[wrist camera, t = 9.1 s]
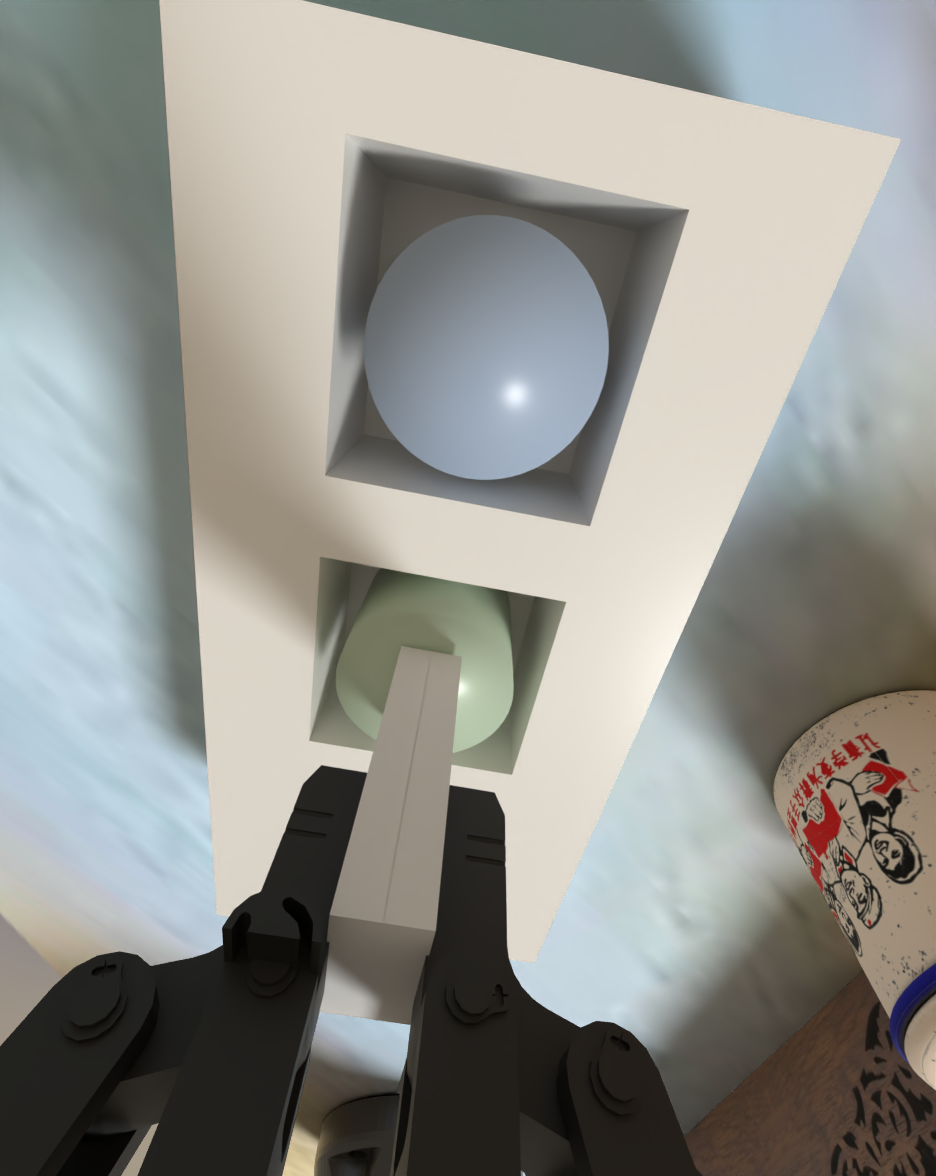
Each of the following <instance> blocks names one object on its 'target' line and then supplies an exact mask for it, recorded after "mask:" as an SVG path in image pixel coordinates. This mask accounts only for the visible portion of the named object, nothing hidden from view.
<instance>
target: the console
mask: <svg viewBox="0 0 936 1176" xmlns="http://www.w3.org/2000/svg"><path fill="white" fill-rule="evenodd" d="M159 3H160V19H161V35H162V51H163V67H164V83H165V98H166V114H167V130H168V146H169V162H170V178H171V194H172V210H173V226H174V242H175V257H176V273H177V289H178V305H179V321H180V337H181V353H182V369H183V385H184V401H185V417H186V432H187V448H188V464H189V480H190V496H191V512H192V528H193V544H194V560H195V576H196V591H197V607H198V623H199V639H200V655H201V671H202V687H203V703H204V719H205V735H206V751H207V766H208V782H209V798H210V814H211V830H212V846H213V862H214V878H215V894H216V910H217V915H221V916H227V917H229V916H230V915H231V913H232V912H233V910H234V909H235V908H236V907H237V906H239V905H240V904H241V903H242V902H244V901H245V900H246V899H247V898H248V897H250V896H251V895H254V894H256V893H259V892H261V890H262V887H263V885H264V882H265V880H266V877H267V874H268V872H269V869H270V867H271V864H272V862H273V859H274V857H275V854H276V851H277V849H278V846H279V844H280V841H281V839H282V836H283V834H284V833H285V830H286V826H287V823H288V821H289V818H290V816H291V813H292V812H293V809H294V806H295V803H296V800H297V798H298V795H299V793H300V790H301V788H302V785H303V783H304V782H305V781H306V780H307V779H308V778H309V777H310V776H311V775H312V774H313V773H314V772H315V771H316V770H317V769H318V768H319V767H320V766H321V765H324V766H330V767H336V768H342V769H348V770H354V771H360V772H366V773H368V769H369V765H370V762H371V758H372V754H373V750H374V747H375V743H376V740H374V739H373V738H371V737H370V736H368V735H367V734H365V733H364V732H363V731H362V730H361V729H360V728H358V727H357V726H356V725H355V724H354V722H353V721H352V720H351V719H350V718H349V716H348V715H347V713H346V712H345V710H344V709H343V707H342V705H341V703H340V700H339V697H338V694H337V689H336V669H337V664H338V661H339V658H340V655H341V653H342V651H343V648H344V646H345V644H346V641H347V639H348V637H349V634H350V632H351V630H352V627H353V625H354V623H355V620H356V618H357V616H358V613H359V611H360V609H361V606H362V604H363V602H364V599H365V597H366V595H367V592H368V590H369V587H370V585H371V583H372V581H373V579H374V577H375V575H376V574H377V572H378V571H379V570H380V568H385V569H390V570H396V571H401V572H407V573H412V574H417V575H423V576H428V577H434V578H439V579H445V580H450V581H455V582H461V583H466V584H472V585H477V586H483V587H488V588H493V589H499V590H504V591H507V593H508V597H509V602H510V616H511V639H512V661H513V684H514V690H513V700H512V705H511V707H510V710H509V713H508V715H507V716H506V718H505V720H504V721H503V723H502V724H501V725H500V727H499V728H498V729H497V730H496V731H495V732H494V733H493V734H492V735H491V736H489V737H488V738H486V739H485V740H484V741H482V742H480V743H478V744H477V745H475V746H472V747H470V748H467V749H465V750H462V751H458V752H454V753H453V754H452V765H451V775H450V785H453V786H459V787H465V788H471V789H477V790H483V791H489V792H495V794H496V797H497V799H498V801H499V803H500V805H501V808H502V810H503V812H504V814H505V846H506V863H505V867H506V902H507V948H508V955H509V959H511V960H517V961H524V962H531V963H535V961H536V959H537V956H538V954H539V952H540V950H541V947H542V945H543V943H544V941H545V938H546V936H547V934H548V932H549V929H550V927H551V925H552V923H553V920H554V918H555V916H556V914H557V911H558V909H559V907H560V905H561V902H562V900H563V898H564V896H565V894H566V891H567V889H568V887H569V885H570V882H571V880H572V878H573V876H574V873H575V871H576V869H577V867H578V864H579V862H580V860H581V858H582V855H583V853H584V851H585V849H586V846H587V844H588V842H589V840H590V837H591V835H592V833H593V831H594V828H595V826H596V824H597V822H598V819H599V817H600V815H601V813H602V810H603V808H604V806H605V804H606V801H607V799H608V797H609V795H610V792H611V790H612V788H613V786H614V783H615V781H616V779H617V777H618V775H619V772H620V770H621V768H622V766H623V763H624V761H625V759H626V757H627V754H628V752H629V750H630V748H631V745H632V743H633V741H634V739H635V736H636V734H637V732H638V730H639V727H640V725H641V723H642V721H643V718H644V716H645V714H646V712H647V709H648V707H649V705H650V703H651V700H652V698H653V696H654V694H655V691H656V689H657V687H658V685H659V682H660V680H661V678H662V676H663V673H664V671H665V669H666V667H667V664H668V662H669V660H670V658H671V655H672V653H673V651H674V649H675V647H676V644H677V642H678V640H679V638H680V635H681V633H682V631H683V629H684V626H685V624H686V622H687V620H688V617H689V615H690V613H691V611H692V608H693V606H694V604H695V602H696V599H697V597H698V595H699V593H700V590H701V588H702V586H703V584H704V581H705V579H706V577H707V575H708V572H709V570H710V568H711V566H712V563H713V561H714V559H715V557H716V554H717V552H718V550H719V548H720V545H721V543H722V541H723V539H724V536H725V534H726V532H727V530H728V528H729V525H730V523H731V521H732V519H733V516H734V514H735V512H736V510H737V507H738V505H739V503H740V501H741V498H742V496H743V494H744V492H745V489H746V487H747V485H748V483H749V480H750V478H751V476H752V474H753V471H754V469H755V467H756V465H757V462H758V460H759V458H760V456H761V453H762V451H763V449H764V447H765V444H766V442H767V440H768V438H769V435H770V433H771V431H772V429H773V426H774V424H775V422H776V420H777V417H778V415H779V413H780V411H781V409H782V406H783V404H784V402H785V400H786V397H787V395H788V393H789V391H790V388H791V386H792V384H793V382H794V379H795V377H796V375H797V373H798V370H799V368H800V366H801V364H802V361H803V359H804V357H805V355H806V352H807V350H808V348H809V346H810V343H811V341H812V339H813V337H814V334H815V332H816V330H817V328H818V325H819V323H820V321H821V319H822V316H823V314H824V312H825V310H826V307H827V305H828V303H829V301H830V298H831V296H832V294H833V292H834V289H835V287H836V285H837V283H838V281H839V278H840V276H841V274H842V272H843V269H844V267H845V265H846V263H847V260H848V258H849V256H850V254H851V251H852V249H853V247H854V245H855V242H856V240H857V238H858V236H859V233H860V231H861V229H862V227H863V224H864V222H865V220H866V218H867V215H868V213H869V211H870V209H871V206H872V204H873V202H874V200H875V197H876V195H877V193H878V191H879V188H880V186H881V184H882V182H883V179H884V177H885V175H886V173H887V170H888V168H889V166H890V164H891V162H892V159H893V157H894V155H895V153H896V150H897V148H898V146H899V144H900V141H901V139H898V138H893V137H889V136H885V135H880V134H876V133H872V132H867V131H863V130H859V129H855V128H850V127H846V126H842V125H837V124H833V123H829V122H824V121H820V120H816V119H811V118H807V117H803V116H799V115H794V114H790V113H786V112H781V111H777V110H773V109H768V108H764V107H760V106H756V105H751V104H747V103H743V102H738V101H734V100H730V99H725V98H721V97H717V96H712V95H708V94H704V93H700V92H695V91H691V90H687V89H682V88H678V87H674V86H669V85H665V84H661V83H656V82H652V81H648V80H644V79H639V78H635V77H631V76H626V75H622V74H618V73H613V72H609V71H605V70H600V69H596V68H592V67H588V66H583V65H579V64H575V63H570V62H566V61H562V60H557V59H553V58H549V57H544V56H540V55H536V54H532V53H527V52H523V51H519V50H514V49H510V48H506V47H501V46H497V45H493V44H488V43H484V42H480V41H476V40H471V39H467V38H463V37H458V36H454V35H450V34H445V33H441V32H437V31H432V30H428V29H424V28H420V27H415V26H411V25H407V24H402V23H398V22H394V21H389V20H385V19H381V18H376V17H372V16H368V15H364V14H359V13H355V12H351V11H346V10H342V9H338V8H333V7H329V6H325V5H321V4H316V3H312V2H308V1H303V0H159ZM475 215H499V216H506V217H513V218H516V219H519V220H523V221H526V222H529V223H531V224H533V225H535V226H537V227H540V228H542V229H544V230H546V231H547V232H548V233H550V234H551V235H553V236H554V237H556V238H557V239H559V240H560V241H561V242H562V243H563V244H564V245H565V246H567V247H568V248H569V249H570V250H571V251H572V252H573V253H574V254H575V256H576V257H577V258H578V259H579V260H580V262H581V263H582V264H583V265H584V267H585V268H586V270H587V272H588V273H589V275H590V277H591V278H592V280H593V282H594V284H595V286H596V289H597V291H598V293H599V295H600V298H601V301H602V304H603V308H604V312H605V315H606V321H607V328H608V338H609V354H608V364H607V371H606V376H605V380H604V385H603V388H602V391H601V393H600V396H599V399H598V402H597V404H596V406H595V408H594V410H593V412H592V414H591V416H590V417H589V419H588V421H587V422H586V424H585V425H584V427H583V428H582V430H581V431H580V432H579V433H578V434H577V436H576V437H575V438H574V439H573V440H572V442H571V443H570V444H568V445H567V446H566V447H565V448H564V449H563V450H562V451H561V452H560V453H559V454H557V455H556V456H554V457H553V458H552V459H550V460H549V461H547V462H546V463H544V464H542V465H540V466H538V467H537V468H535V469H532V470H530V471H527V472H525V473H522V474H519V475H516V476H512V477H508V478H502V479H494V480H476V479H468V478H462V477H458V476H454V475H450V474H448V473H445V472H443V471H440V470H438V469H435V468H434V467H432V466H430V465H428V464H426V463H425V462H423V461H421V460H420V459H419V458H417V457H416V456H415V455H413V454H412V453H411V452H410V451H408V450H407V449H406V448H405V447H404V446H403V445H402V444H401V443H400V442H399V441H398V440H397V438H396V437H395V436H394V435H393V434H392V432H391V431H390V430H389V428H388V427H387V425H386V424H385V422H384V420H383V419H382V417H381V415H380V413H379V411H378V409H377V407H376V405H375V403H374V400H373V397H372V394H371V392H370V389H369V385H368V380H367V376H366V371H365V361H364V335H365V328H366V321H367V317H368V313H369V309H370V306H371V302H372V300H373V297H374V295H375V293H376V290H377V288H378V285H379V284H380V282H381V280H382V279H383V277H384V275H385V273H386V272H387V270H388V269H389V267H390V266H391V265H392V264H393V262H394V261H395V260H396V258H397V257H398V256H399V255H400V254H401V253H402V252H403V251H404V250H405V249H406V248H407V247H408V246H409V245H410V244H411V243H412V242H414V241H415V240H416V239H418V238H419V237H421V236H422V235H423V234H425V233H426V232H428V231H430V230H432V229H434V228H436V227H437V226H439V225H441V224H444V223H447V222H450V221H453V220H455V219H458V218H464V217H469V216H475Z"/></svg>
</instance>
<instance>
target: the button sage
mask: <svg viewBox="0 0 936 1176" xmlns="http://www.w3.org/2000/svg"><path fill="white" fill-rule="evenodd" d="M401 646H405V647H410V648H416V649H421V650H427V651H433V652H438V653H444V654H450V655H455V656H461V657H462V659H461V669H460V680H459V691H458V701H457V712H456V722H455V733H454V743H453V753H454V752H458V751H462V750H465V749H467V748H470V747H472V746H475V745H477V744H478V743H480V742H482V741H484V740H485V739H486V738H488V737H489V736H491V735H492V734H493V733H494V732H495V731H496V730H497V729H498V728H499V727H500V725H501V724H502V723H503V721H504V720H505V718H506V716H507V715H508V713H509V710H510V707H511V705H512V700H513V690H514V684H513V661H512V639H511V616H510V602H509V597H508V593H507V591H504V590H499V589H493V588H488V587H483V586H477V585H472V584H466V583H461V582H455V581H450V580H445V579H439V578H434V577H428V576H423V575H417V574H412V573H407V572H401V571H396V570H390V569H385V568H380V570H379V571H378V572H377V574H376V575H375V577H374V579H373V581H372V583H371V585H370V587H369V590H368V592H367V595H366V597H365V599H364V602H363V604H362V606H361V609H360V611H359V613H358V616H357V618H356V620H355V623H354V625H353V627H352V630H351V632H350V634H349V637H348V639H347V641H346V644H345V646H344V648H343V651H342V653H341V655H340V658H339V661H338V664H337V669H336V689H337V694H338V697H339V700H340V703H341V705H342V707H343V709H344V710H345V712H346V713H347V715H348V716H349V718H350V719H351V720H352V721H353V722H354V724H355V725H356V726H357V727H358V728H360V729H361V730H362V731H363V732H364V733H365V734H367V735H368V736H370V737H371V738H373V739H374V740H376V739H377V735H378V732H379V728H380V724H381V720H382V717H383V713H384V709H385V705H386V702H387V698H388V694H389V691H390V687H391V683H392V679H393V676H394V672H395V668H396V664H397V661H398V657H399V653H400V649H401Z"/></svg>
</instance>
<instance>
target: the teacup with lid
mask: <svg viewBox="0 0 936 1176" xmlns="http://www.w3.org/2000/svg"><path fill="white" fill-rule="evenodd" d="M774 800H775V805H776V808H777V810H778V813H779V815H780V817H781V819H782V820H783V822H784V824H785V826H786V828H787V830H788V832H789V833H790V835H791V837H792V839H793V841H794V843H795V844H796V846H797V848H798V850H799V852H800V854H801V856H802V857H803V859H804V861H805V863H806V865H807V867H808V869H809V870H810V872H811V874H812V876H813V878H814V880H815V881H816V883H817V885H818V887H819V889H820V891H821V893H822V894H823V896H824V898H825V900H826V902H827V904H828V905H829V907H830V909H831V911H832V913H833V915H834V917H835V918H836V920H837V922H838V924H839V926H840V928H841V929H842V931H843V933H844V935H845V937H846V939H847V941H848V942H849V944H850V946H851V948H852V950H853V952H854V954H855V955H856V957H857V959H858V961H859V963H860V965H861V966H862V968H863V970H864V972H865V974H866V976H867V978H868V979H869V981H870V983H871V985H872V987H873V989H874V990H875V992H876V994H877V996H878V998H879V1000H880V1002H881V1003H882V1005H883V1007H884V1009H885V1011H886V1013H887V1014H888V1016H889V1018H890V1022H889V1029H890V1035H891V1039H892V1042H893V1044H894V1046H895V1048H896V1049H897V1051H898V1053H899V1054H900V1055H901V1056H902V1058H903V1059H904V1060H905V1061H906V1062H907V1063H909V1064H910V1065H911V1067H912V1069H913V1070H914V1071H915V1072H916V1073H917V1075H918V1076H920V1077H921V1078H922V1079H923V1080H924V1081H925V1082H926V1083H927V1084H929V1085H930V1086H931V1087H932V1088H933V1089H935V1090H936V691H929V690H914V691H902V692H894V693H889V694H884V695H879V696H875V697H872V698H868V699H865V700H862V701H859V702H857V703H854V704H851V705H849V706H847V707H845V708H842V709H840V710H838V711H836V712H834V713H833V714H831V715H829V716H827V717H826V718H824V719H822V720H821V721H819V722H818V723H817V724H815V725H814V726H812V727H811V728H810V729H809V730H807V731H806V732H805V733H804V734H803V735H802V736H801V737H800V738H799V739H798V740H797V741H796V742H795V743H794V744H793V745H792V746H791V748H790V749H789V750H788V752H787V753H786V755H785V756H784V758H783V760H782V762H781V763H780V766H779V768H778V770H777V773H776V777H775V781H774Z"/></svg>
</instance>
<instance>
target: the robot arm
mask: <svg viewBox="0 0 936 1176" xmlns="http://www.w3.org/2000/svg"><path fill="white" fill-rule="evenodd" d="M461 659H462V657H461V656H455V655H450V654H444V653H438V652H433V651H427V650H421V649H416V648H410V647H405V646H401V649H400V653H399V657H398V661H397V664H396V668H395V672H394V676H393V679H392V683H391V687H390V691H389V694H388V698H387V702H386V705H385V709H384V713H383V717H382V720H381V724H380V728H379V732H378V735H377V739H376V743H375V747H374V750H373V754H372V758H371V762H370V765H369V769H368V773H366V772H360V771H354V770H348V769H342V768H336V767H330V766H324V765H321V766H320V767H319V768H318V769H317V770H316V771H315V772H314V773H313V774H312V775H311V776H310V777H309V778H308V779H307V780H306V781H305V782H304V783H303V785H302V788H301V790H300V793H299V795H298V798H297V800H296V803H295V806H294V809H293V812H292V813H291V816H290V818H289V821H288V823H287V826H286V830H285V833H284V834H283V836H282V839H281V841H280V844H279V846H278V849H277V851H276V854H275V857H274V859H273V862H272V864H271V867H270V869H269V872H268V874H267V877H266V880H265V882H264V885H263V887H262V890H261V892H259V893H256V894H254V895H251V896H250V897H248V898H247V899H246V900H245V901H244V902H242V903H241V904H240V905H239V906H237V907H236V908H235V909H234V910H233V912H232V913H231V915H230V916H229V918H228V919H227V921H226V923H225V924H224V926H223V927H222V934H223V945H222V946H220V947H219V948H217V949H215V950H213V951H211V952H209V953H206V954H203V955H200V956H197V957H194V958H189V959H184V960H179V961H174V962H169V963H164V964H159V965H154V966H150V965H149V964H148V963H146V962H145V961H144V960H143V959H142V958H141V957H139V956H138V955H135V954H130V953H125V952H114V953H109V954H104V955H98V956H96V957H94V958H92V959H90V960H88V961H86V962H84V963H82V964H80V965H78V966H77V967H75V968H73V969H72V970H71V971H70V972H69V973H68V974H67V975H66V976H64V977H63V978H62V979H61V980H60V981H59V982H58V983H57V984H55V985H54V986H53V987H52V989H51V990H50V991H49V992H48V993H47V994H46V995H45V996H44V998H43V999H42V1000H41V1001H40V1002H39V1003H38V1004H37V1005H36V1007H35V1008H34V1009H33V1010H32V1011H31V1012H30V1013H29V1014H28V1016H27V1017H26V1018H25V1019H24V1020H23V1021H22V1023H20V1025H19V1026H18V1027H17V1028H16V1029H15V1030H14V1032H13V1033H12V1034H11V1035H10V1036H9V1037H8V1038H7V1039H6V1041H5V1042H4V1043H3V1044H2V1045H1V1046H0V1176H121V1175H122V1173H123V1171H124V1170H125V1168H126V1166H127V1165H128V1163H129V1161H130V1160H131V1158H132V1157H133V1155H134V1153H135V1152H136V1150H137V1148H138V1147H139V1145H140V1144H141V1142H142V1140H143V1139H144V1137H145V1135H146V1134H147V1132H148V1130H149V1129H150V1127H151V1125H153V1124H157V1123H159V1124H158V1126H157V1129H156V1131H155V1134H154V1136H153V1139H152V1141H151V1144H150V1146H149V1149H148V1151H147V1153H146V1156H145V1159H144V1161H143V1163H142V1166H141V1168H140V1171H139V1173H138V1176H282V1174H283V1169H284V1165H285V1161H286V1157H287V1153H288V1149H289V1144H290V1140H291V1136H292V1132H293V1128H294V1124H295V1119H296V1115H297V1111H298V1107H299V1103H300V1099H301V1094H302V1090H303V1086H304V1082H305V1078H306V1074H307V1069H308V1065H309V1061H310V1053H311V1044H312V1040H313V1036H314V1032H315V1028H316V1023H317V1019H318V1015H319V1012H325V1013H332V1014H339V1015H346V1016H353V1017H360V1018H367V1019H374V1020H381V1021H387V1022H394V1023H401V1024H408V1025H410V1024H411V1027H410V1035H409V1044H408V1052H407V1058H406V1062H405V1065H404V1069H403V1073H402V1076H401V1080H400V1083H399V1087H398V1090H397V1093H399V1094H400V1095H395V1096H381V1097H373V1098H367V1099H362V1100H358V1101H354V1102H351V1103H348V1104H345V1105H343V1106H341V1107H339V1108H337V1109H335V1110H334V1111H332V1112H331V1113H330V1114H329V1115H328V1116H327V1117H326V1118H325V1120H324V1121H323V1124H322V1129H321V1133H320V1138H319V1143H318V1148H317V1153H316V1158H315V1166H314V1176H523V1172H524V1173H525V1175H526V1176H699V1175H698V1172H697V1170H696V1167H695V1164H694V1162H693V1159H692V1157H691V1154H690V1151H689V1149H688V1146H687V1144H686V1141H685V1138H684V1136H683V1133H682V1131H681V1128H680V1125H679V1123H678V1120H677V1118H676V1115H675V1112H674V1110H673V1107H672V1105H671V1102H670V1099H669V1097H668V1094H667V1092H666V1089H665V1086H664V1084H663V1081H662V1079H661V1076H660V1073H659V1071H658V1069H657V1067H656V1065H655V1064H654V1062H653V1060H652V1058H651V1056H650V1054H649V1052H648V1051H647V1049H646V1048H645V1047H644V1046H643V1045H642V1044H641V1043H640V1041H639V1040H638V1039H637V1038H636V1037H635V1036H634V1035H633V1034H632V1033H631V1032H629V1031H627V1030H626V1029H624V1028H622V1027H620V1026H618V1025H617V1024H615V1023H611V1022H601V1021H595V1022H593V1023H590V1024H588V1025H586V1026H584V1027H581V1028H580V1027H578V1026H577V1025H575V1024H573V1023H571V1022H569V1021H568V1020H566V1019H564V1018H562V1017H561V1016H559V1015H557V1014H555V1013H553V1012H552V1011H550V1010H548V1009H546V1008H545V1007H543V1006H542V1005H540V1004H539V1003H538V1002H536V1001H535V1000H534V999H532V998H531V996H530V995H529V994H528V993H527V992H526V991H525V990H524V989H523V988H522V986H521V985H520V983H519V981H518V980H517V978H516V976H515V974H514V972H513V969H512V966H511V964H510V961H509V955H508V948H507V902H506V867H505V863H506V846H505V814H504V812H503V810H502V808H501V805H500V803H499V801H498V799H497V797H496V794H495V792H489V791H483V790H477V789H471V788H465V787H459V786H453V785H450V775H451V765H452V754H453V743H454V733H455V722H456V712H457V701H458V691H459V680H460V669H461Z"/></svg>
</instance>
